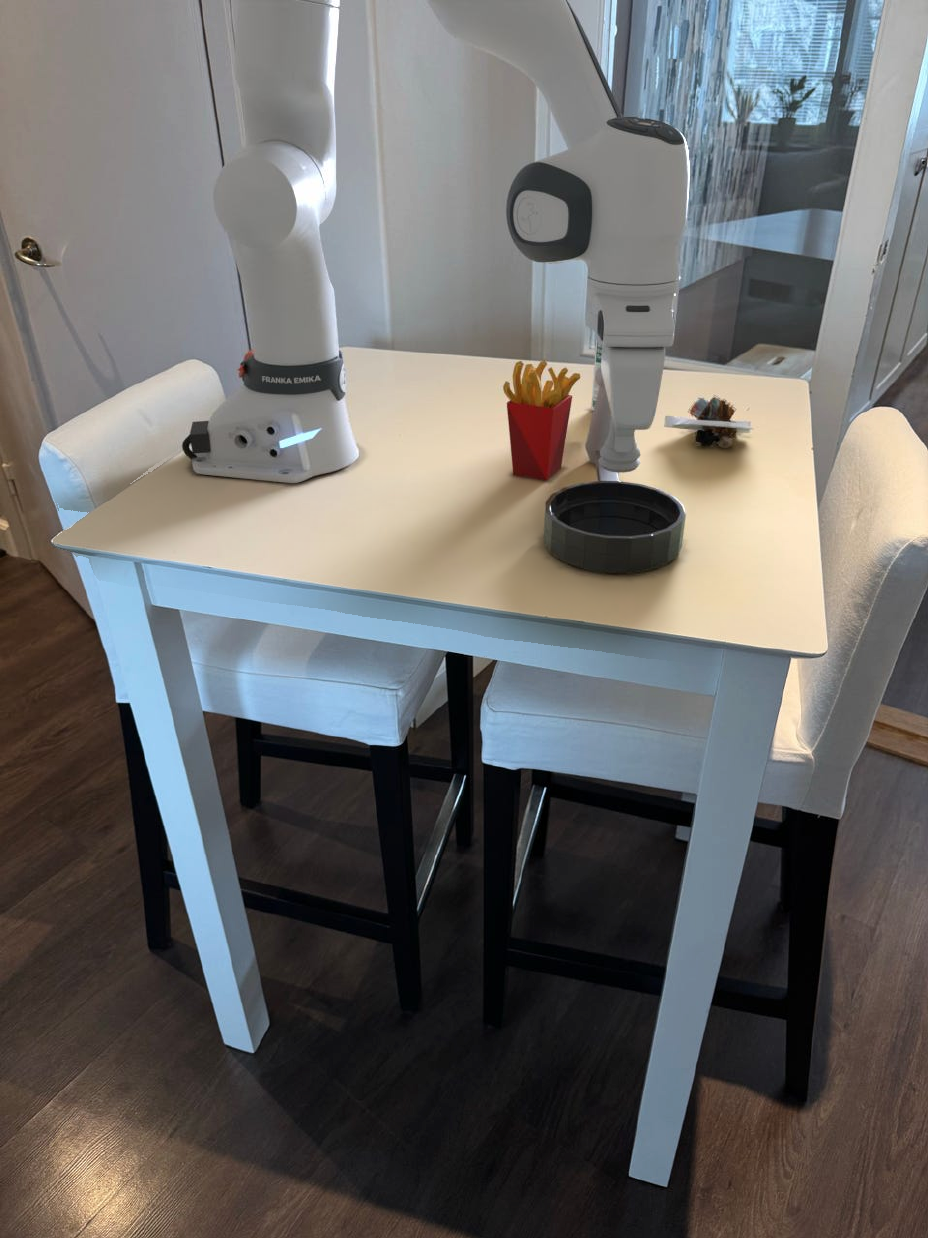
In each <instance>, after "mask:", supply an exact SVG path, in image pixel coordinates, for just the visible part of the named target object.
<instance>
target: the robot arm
mask: <svg viewBox="0 0 928 1238" xmlns="http://www.w3.org/2000/svg"><path fill="white" fill-rule="evenodd" d="M426 2H427V3H428V5H429V6H430V8H431V10H432V12H433V13H434V15H435V16H436V18H437V20H438V21H439V23H440V24H441V26H442V27H443V29H444V30H445V31H446V32H447V33H448V34H450V35H451V36H452V37H453V38H455V39H456V40H458V41H459V42H461V43H463V44H465V45H467V46H469V47H472V48H473V49H477V50H479V51H482V52H484V53H487V54H489V55H491V56H494V57H496V58H497V59H499V60H502V61H503V62H505V63H507V64H509V65H511V66H513V67H514V68H516V69H517V70H518V71H520V72H521V73H523V74H524V75H525V76H527V78H529V79H530V80H531V82H533V84H534V85H535V86H536V87H537V89H538V90H539V91H540V92H541V95H542V96H543V98H544V99H545V102H546V104H547V106H548V108H549V110H550V112H551V114H552V117H553V119H554V122H555V124H556V126H557V128H558V130H559V132H560V134H561V136H562V138H563V141H564V144H565V145H566V147H567V149H566V150H564V151H561V152H558V153H556V154H552V155H549V156H546V157H543V158H541V159H538V160H536V161H534V162H531V163H528V164H526V165H525V166H523V167H522V168H521V169H520V170H519V171H518V172H517V174H516V175H515V177H514V178H513V181H511V185H510V188H509V190H508V194H507V198H506V206H505V215H506V224H507V229H508V232H509V235H510V237H511V240H512V242H513V243H514V245H515V246H516V248H517V249H518V250H519V252H521V254H522V255H523V256H524V257H526V258H527V259H528V260H530V261H532V262H536V263H543V264H550V265H553V264H561V263H565V262H571V261H579V260H581V261H583V262H584V263H585V264H586V266H587V279H586V297H585V315H584V316H585V317H584V323H585V326H586V327H587V328H589V329H591V330H592V331H593V332H594V333H595V335H596V334H597V342H598V343H599V344H600V345H602V355H601V371H602V376H603V380H604V385H605V389H606V393H607V398H608V402H609V407H610V411H611V416H612V420H613V425H614V427H615V431H614V449H615V451H616V452H626V453H628V452H630V451H631V450H632V443H633V435H634V436H635V431H644V430H645V431H646V430H649V429H650V428H651V427H652V426H653V425H652V424H653V422H654V419H655V416H656V412H657V407H658V402H659V396H660V391H661V387H662V386H661V385H662V379H663V374H664V366H665V361H666V348H671V347H672V346H673V344H674V340H675V329H676V328H675V327H676V322H677V311H678V303H679V293H680V281H681V266H680V265H681V264H680V259H679V253H680V245H681V243H682V242H681V241H682V239H683V236H684V233H685V231H686V226H687V217H688V216H687V215H688V205H689V191H690V159H689V156H690V155H689V149H688V145H687V141H686V138H685V137H684V134H683V133H682V132H681V131H679V129H677V128H676V127H675V126H673V125H671V124H669V123H667V122H665V121H664V122H663V121H661V120H660V121H659V120H656V119H652V118H648V117H647V118H642V117H637V116H623V114H622V112H621V110H620V107H619V105H618V103H617V100H616V98H615V96H614V94H613V92H612V90H611V87H610V85H609V83H608V81H607V78H606V75H605V73H604V71H603V69H602V67H601V65H600V63H599V60H598V58H597V56H596V53H595V52H594V49H593V47H592V45H591V43H590V40H589V37H588V36H587V34H586V32H585V29H584V28H583V26H582V23H581V21H580V20H579V18H578V16H577V14H576V13H575V11H574V9H573V8H572V6H571V4H570V3H569V1H568V0H426ZM340 5H341V0H235V25H234V27H235V28H234V29H235V31H234V76H235V79H236V82H237V85H238V89H239V93H240V98H241V99H240V100H241V105H242V113H243V121H244V129H245V130H244V131H245V147H243V148H240V149H239V150H237V151H235V153H233V154H231V156H230V157H229V158H228V159H227V161H226V162H225V163H224V165H223V167H222V168H221V169H220V171H219V174H218V175H217V177H216V180H215V183H214V187H213V194H212V201H213V207H214V212H215V215H216V218H217V221H219V224H220V225H221V227H222V229H223V230H224V232H226V234H227V238H228V241H229V245H230V248H231V252H232V256H233V258H234V261H235V265H236V267H237V272H238V274H239V277H240V281H241V283H242V287H243V292H244V295H245V301H246V309H247V316H248V323H249V330H250V338H251V346H252V348H251V349H249V350H248V351H247V352H246V353H245V355H244V356H243V360H242V361H241V362H240V363H239V367H238V369H237V372H238V378H239V379H241V380H242V383H243V384H242V385H241V386H240V387H239V388H238V389H237V390H235V391H234V392H233V393H232V394H231V395H230V396H228V397H227V398H226V400H224V401H223V402H222V403H221V404H220V405H219V406H218V407H217V408H216V409H215V410H214V411H213V412H212V413H211V416H210V417H209V419H208V420H200V421H198V420H197V421H192V423H191V427H190V432H189V434H188V435H187V436H186V438H185V439H184V440H183V442H182V443H181V448H182V451H183V453H184V455H186V457H188V459H190V461H192V462H191V463H192V470H193V471H194V473H195V474H197V475H207V476H217V477H224V478H237V479H245V480H257V481H266V482H275V483H277V482H278V483H284V484H285V483H287V484H297V483H300V482H303V481H306V480H309V479H310V478H313V477H316V476H320V475H324V474H328V473H332V472H336V471H339V470H342V469H344V468H346V467H348V466H350V465H352V464H353V463H355V462H356V461H357V460H358V458H359V456H360V449H359V448H358V445H357V442H356V440H355V436H354V433H353V429H352V427H351V423H350V419H349V414H348V409H347V405H346V404H347V403H346V398H345V396H346V392H347V377H346V366H345V363H344V355H343V352H342V351H341V350H340V345H339V333H338V320H337V308H336V295H335V289H334V286H333V284H332V283H331V279H330V276H329V272H328V268H327V264H326V259H325V255H324V251H323V246H322V240H321V234H320V233H321V232H320V225H322V224H323V223H324V222H325V221H326V220H327V219H328V217H329V216H330V214H331V212H332V210H333V208H334V205H335V201H336V197H337V188H338V187H337V186H338V185H337V135H336V134H337V133H336V132H337V129H336V112H335V111H336V110H335V81H336V67H337V66H336V65H337V53H338V52H337V51H338V50H337V49H338V36H339V20H340V19H339V18H340V9H339V8H340ZM610 425H611V421H610ZM190 446H191V447H190Z"/></svg>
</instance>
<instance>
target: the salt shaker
mask: <svg viewBox="0 0 928 1238" xmlns="http://www.w3.org/2000/svg"><path fill="white" fill-rule="evenodd" d="M595 382H596V384H597V385H599V390H598V394H597V398H596V403H595V407H594V411H593V410H592V411H593V412H592V416H591V418H590V419H591V420H590V423H589V428H588V432H587V436H586V440H585V445H584V446H585V451H586V454H587V456H588V459H589V462H590V463H591V464H593V466H596V464H595V450H601V448H602V447H603V446H604V445H605V442H606V441H607V438H608V435H609V430H610V421H611V418H610V416H609V415H610V414H611V411H610V407H609V402H608V398H607V393H606V389H605V385H604V380H603V376H602V371H601V366H600V367H599V368H598V369H597V371H596V375H595Z"/></svg>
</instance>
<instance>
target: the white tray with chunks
mask: <svg viewBox="0 0 928 1238" xmlns="http://www.w3.org/2000/svg"><path fill="white" fill-rule="evenodd" d="M731 404H732V403H731V402H728V401H727V399H725V398H723V399H722V398H720V397H719V396H718V395H715V394H714V395H713V397H711V399H710V400H709V401H708V400H706V399H705V398H704V397H698V398H697V400H696V401H694V402H693V403H692V404H691V406H690V408H689V409H688V411H687V412H688V413H689V414H690V416H691V418H690V417H682V416H674V415H664V416H665V417H664V424H663V425H664V428H670V429H671V428H672V429H679V430H687V431H689V430H690V431H696V432H695V437H694V439H695V440H694V441H695V443H697V444H700V446H701V447H711V446H712V445H713V443H715V444H717V445H718V446H719V447H721V448H722V449H727V448H729V447H730V446H731V445H732V444H733V440H734V438H735V436H737V434H740V433H741V434H749V433H751V432H750V431H751V430H752V431H753V430H754V427H753V428H752V426H751V421H745V420H744V421H743V420H732V418H733V415H734V414H735V412H736V411H737V408H736V407H734V404H732V405H731ZM693 417H694V418H693Z"/></svg>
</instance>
